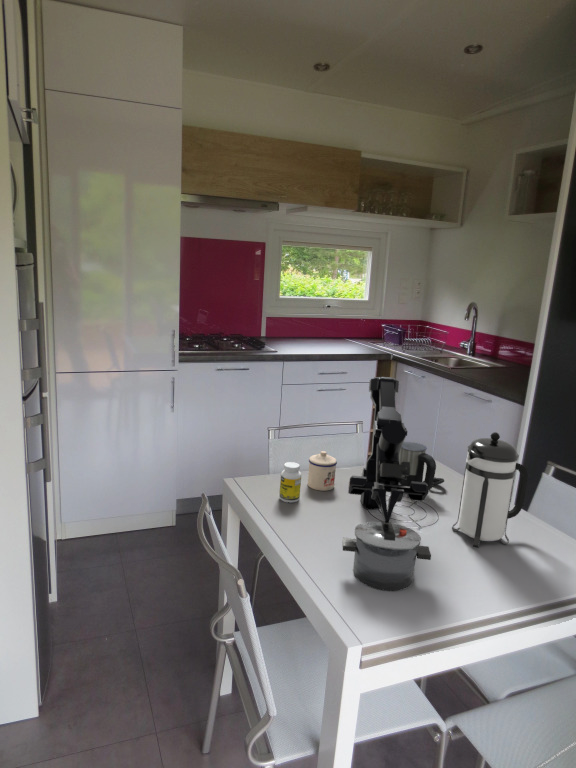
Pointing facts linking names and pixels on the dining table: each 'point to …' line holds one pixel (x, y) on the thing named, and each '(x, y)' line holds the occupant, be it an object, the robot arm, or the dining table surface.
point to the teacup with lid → (321, 471)
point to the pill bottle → (290, 482)
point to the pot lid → (387, 535)
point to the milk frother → (418, 464)
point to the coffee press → (489, 489)
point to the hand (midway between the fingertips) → (387, 522)
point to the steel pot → (384, 564)
